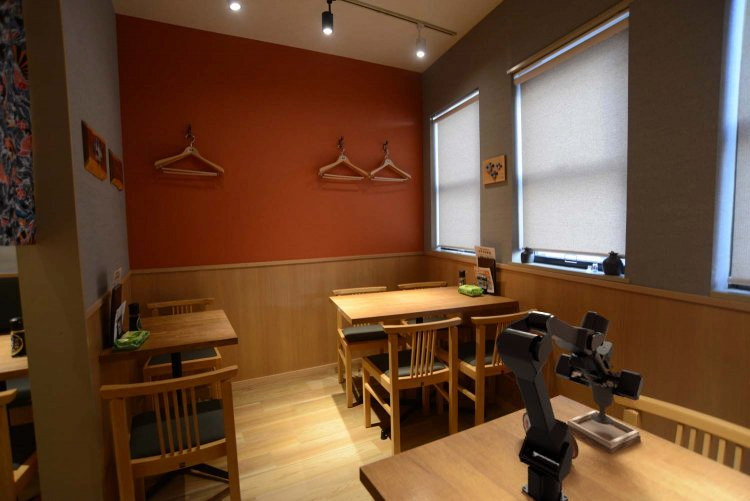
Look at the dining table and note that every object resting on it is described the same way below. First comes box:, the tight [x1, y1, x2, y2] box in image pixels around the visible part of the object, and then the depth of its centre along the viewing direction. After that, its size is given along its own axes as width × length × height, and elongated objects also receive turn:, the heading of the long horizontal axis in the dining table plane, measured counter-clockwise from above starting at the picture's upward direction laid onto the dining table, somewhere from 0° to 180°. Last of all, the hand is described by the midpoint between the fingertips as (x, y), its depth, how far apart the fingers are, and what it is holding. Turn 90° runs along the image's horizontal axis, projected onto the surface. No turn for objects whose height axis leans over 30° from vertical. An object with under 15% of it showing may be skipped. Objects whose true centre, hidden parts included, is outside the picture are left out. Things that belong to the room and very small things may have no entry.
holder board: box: [566, 409, 642, 455], centre depth 93 cm, size 12×12×2 cm
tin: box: [522, 411, 580, 461], centre depth 87 cm, size 15×3×8 cm, turn 22°
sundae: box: [589, 364, 615, 425], centre depth 92 cm, size 7×7×15 cm
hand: (604, 390), depth 93 cm, fingers closed on sundae, 6 cm apart
